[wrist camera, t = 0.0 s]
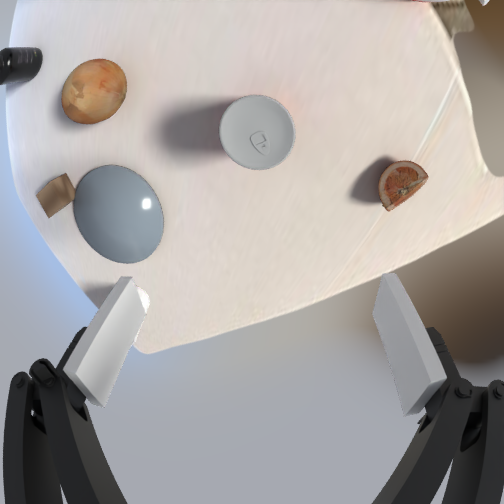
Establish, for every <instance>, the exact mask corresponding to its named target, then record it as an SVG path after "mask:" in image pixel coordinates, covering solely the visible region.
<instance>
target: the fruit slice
mask: <svg viewBox="0 0 504 504" xmlns="http://www.w3.org/2000/svg"><path fill="white" fill-rule="evenodd" d="M427 179H428V175H427V173H426V172H425V171H424V170H423V168H422V167H420V166H419V165H418V164H416V163H414V162H411V161H398V162H395V163H393V164H391V165H390V166H388V167H387V168H386V169H385V171H384V172H383V173H382V175H381V177H380V180H379V188H378V190H379V196H380V199H381V201H382V204H383V205H382V206H383V207H385V209H386V210H387V211H391V210H393V209H394V208H395V207H397V206H399V205H400V204H402V203H403V202H405V201H406V200H407V199H409V198H410V197H411V196H412V195H414V194H415V193H416V192H417V191H418V190H419V189H420V188H421V187H422V186H423V185H424V184H425V182H426V181H427Z"/></svg>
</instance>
